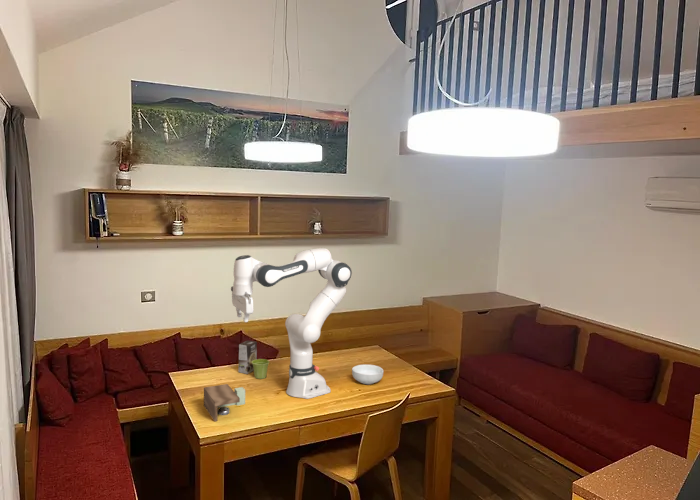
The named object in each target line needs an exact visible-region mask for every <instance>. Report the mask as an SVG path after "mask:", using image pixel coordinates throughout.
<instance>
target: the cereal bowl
mask: <svg viewBox="0 0 700 500" xmlns="http://www.w3.org/2000/svg"><path fill="white" fill-rule="evenodd" d="M351 373H352V378H353V379H355V380H356V381H357V382H359V383H361V384H363V385H373V384H374V383H378V382H380V381H381V380H382V378H383V377H384V369H383V368H382V367H381V366H379V365H374V364H358V365H355V366H353V367H352V368H351Z"/></svg>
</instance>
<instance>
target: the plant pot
mask: <svg viewBox="0 0 700 500" xmlns="http://www.w3.org/2000/svg"><path fill="white" fill-rule="evenodd" d="M252 364H253V368H254V371H253V374H254V378H255V379H260V380H262V379H266V378H267V372H268V367H269V365H270V361H269V360H268V359H265V358H258V359H256V360H253V361H252Z"/></svg>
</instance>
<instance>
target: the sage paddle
mask: <svg viewBox="0 0 700 500" xmlns="http://www.w3.org/2000/svg"><path fill="white" fill-rule="evenodd" d="M233 391H234V392H235V393H236V394H237V396H238V397H239V398H240V402H237V403H232V404H226V405H220V406H218V407H217V409H219V408H221V407H229V406H235V405H236V406H241V405H242V406H243V405H245V404H246V389H245V387H243V386H240V387H235V388H234V390H233Z"/></svg>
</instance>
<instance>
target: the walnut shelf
mask: <svg viewBox="0 0 700 500" xmlns="http://www.w3.org/2000/svg"><path fill="white" fill-rule="evenodd" d="M237 402H240V398H239V397H238V396H237V394H236V393H235V392H234V390H233V388H232V387H231V386H229V384H227V383H225V384H220V385H211V386H206V387H203V407H204V409H205V410H206V411H207V413H208V415H210V417H211V418H212V421H214V422H218V408H217V407H218V406H220V405H226V404H232V403H237Z"/></svg>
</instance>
